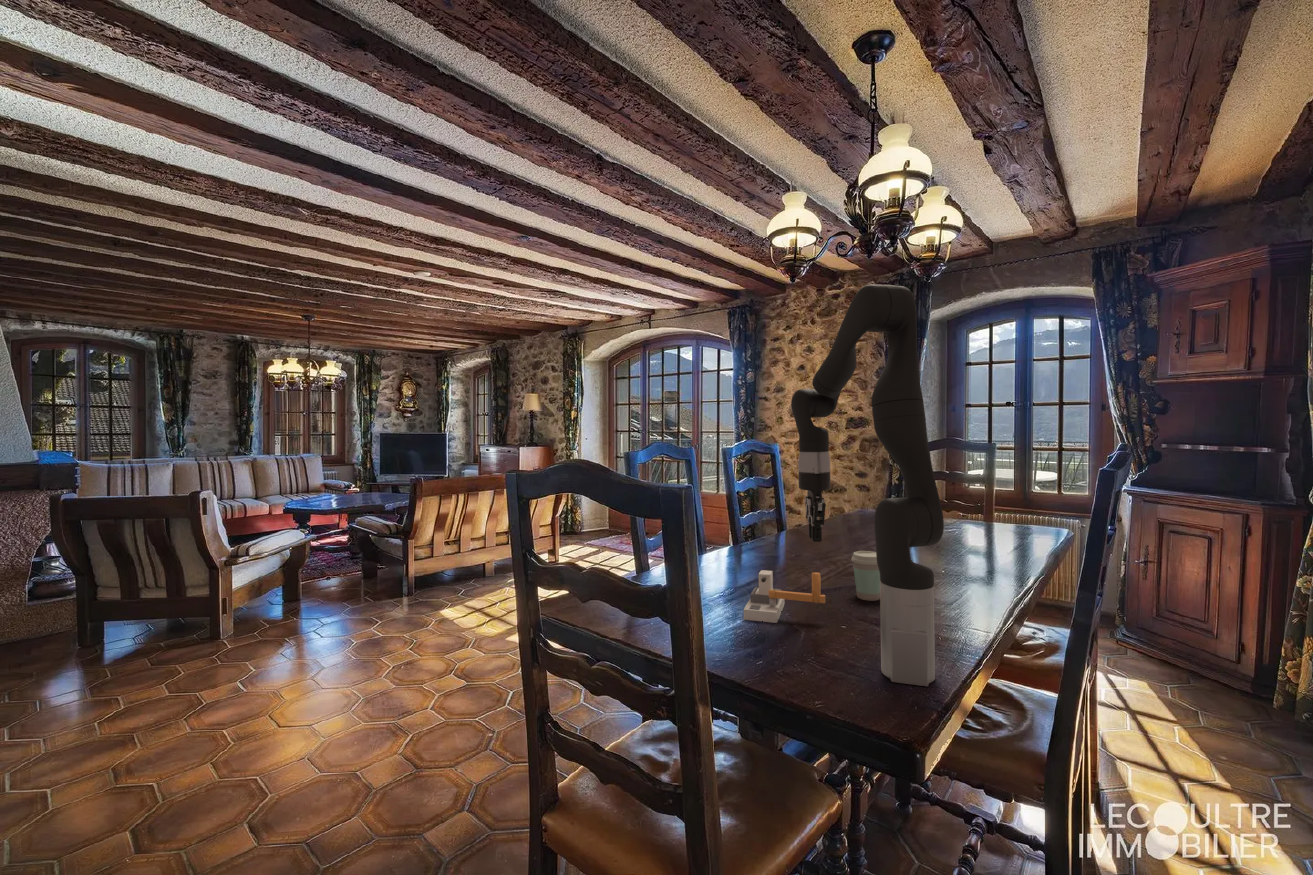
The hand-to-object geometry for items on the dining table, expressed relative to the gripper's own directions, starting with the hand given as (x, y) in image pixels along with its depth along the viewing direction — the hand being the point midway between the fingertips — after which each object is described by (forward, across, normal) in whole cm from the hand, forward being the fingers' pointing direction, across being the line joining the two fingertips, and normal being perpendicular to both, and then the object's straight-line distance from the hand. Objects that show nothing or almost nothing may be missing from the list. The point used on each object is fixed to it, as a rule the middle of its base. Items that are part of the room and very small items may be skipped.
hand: (815, 539), depth 135 cm
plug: (+17, -6, -12) cm, 21 cm away
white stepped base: (+19, -4, -12) cm, 23 cm away
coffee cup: (+19, -16, +17) cm, 31 cm away
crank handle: (+14, +2, -5) cm, 15 cm away
